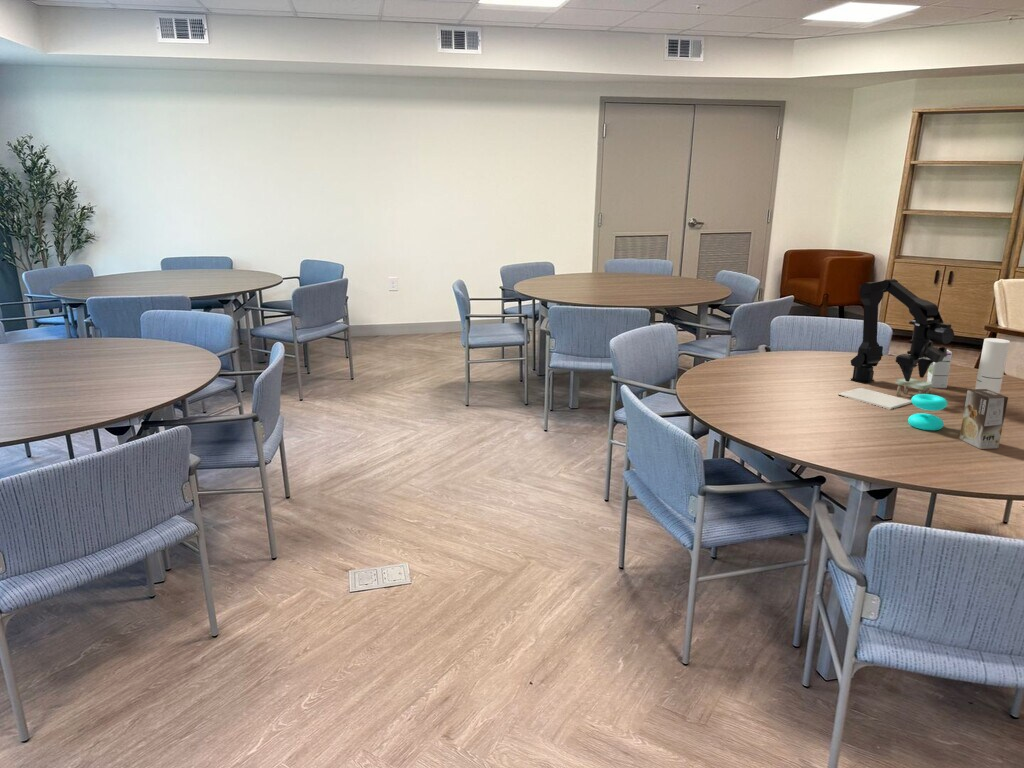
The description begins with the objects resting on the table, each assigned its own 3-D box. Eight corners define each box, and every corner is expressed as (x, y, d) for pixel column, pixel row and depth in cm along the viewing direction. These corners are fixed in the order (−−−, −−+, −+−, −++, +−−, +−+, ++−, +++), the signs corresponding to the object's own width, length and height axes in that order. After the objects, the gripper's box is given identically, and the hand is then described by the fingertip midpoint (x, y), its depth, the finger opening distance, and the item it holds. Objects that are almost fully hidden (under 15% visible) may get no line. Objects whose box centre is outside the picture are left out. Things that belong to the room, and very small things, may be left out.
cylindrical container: (988, 414, 230) (1002, 343, 223) (966, 409, 236) (979, 339, 229) (1000, 411, 233) (1014, 341, 226) (978, 406, 239) (991, 337, 232)
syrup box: (947, 388, 260) (953, 351, 256) (930, 387, 261) (936, 351, 257) (941, 384, 265) (947, 348, 261) (924, 383, 267) (930, 348, 263)
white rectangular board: (837, 395, 253) (838, 393, 253) (860, 389, 260) (860, 387, 260) (889, 409, 236) (890, 407, 236) (912, 402, 243) (912, 400, 243)
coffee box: (999, 448, 201) (1010, 397, 196) (979, 449, 200) (989, 398, 196) (976, 437, 209) (986, 388, 205) (957, 438, 209) (966, 389, 204)
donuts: (954, 401, 212) (922, 402, 212) (949, 431, 215) (917, 431, 215) (936, 392, 222) (905, 392, 222) (931, 421, 224) (901, 421, 225)
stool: (893, 395, 253) (896, 379, 251) (903, 392, 256) (905, 377, 254) (920, 401, 244) (923, 386, 243) (930, 398, 248) (933, 383, 246)
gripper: (929, 345, 233) (922, 388, 237) (958, 339, 242) (951, 380, 246) (898, 339, 242) (891, 381, 246) (926, 333, 251) (920, 373, 255)
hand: (914, 379), depth 248 cm, fingers open, 9 cm apart
